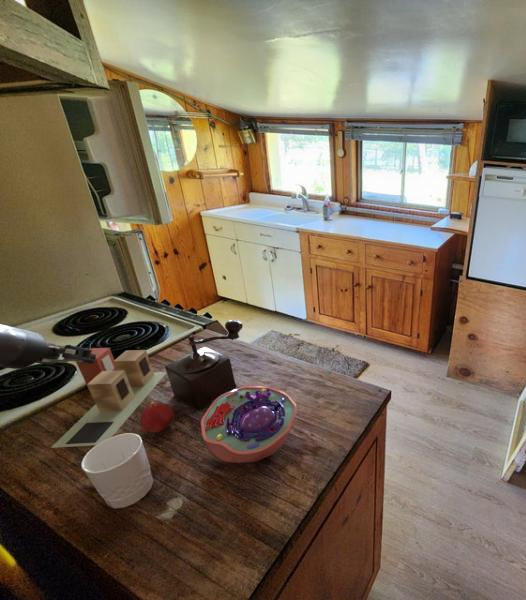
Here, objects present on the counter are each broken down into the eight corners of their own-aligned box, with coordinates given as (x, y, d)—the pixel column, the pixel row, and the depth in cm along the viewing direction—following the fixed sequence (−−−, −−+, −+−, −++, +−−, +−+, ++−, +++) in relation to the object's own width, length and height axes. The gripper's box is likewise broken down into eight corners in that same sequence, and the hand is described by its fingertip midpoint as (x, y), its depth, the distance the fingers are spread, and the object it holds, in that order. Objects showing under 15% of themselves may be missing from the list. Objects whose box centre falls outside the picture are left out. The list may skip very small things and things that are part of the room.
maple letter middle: (99, 412, 74) (86, 384, 71) (113, 397, 79) (102, 370, 75) (122, 411, 75) (111, 383, 72) (135, 396, 79) (125, 370, 76)
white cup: (98, 521, 54) (75, 481, 50) (106, 483, 60) (86, 444, 56) (156, 497, 58) (139, 459, 53) (158, 464, 64) (143, 426, 59)
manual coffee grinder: (200, 413, 76) (181, 349, 68) (172, 396, 80) (152, 334, 73) (255, 377, 88) (245, 319, 81) (229, 364, 93) (216, 308, 85)
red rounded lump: (138, 437, 69) (126, 409, 66) (162, 418, 74) (152, 390, 71) (161, 443, 68) (150, 415, 65) (183, 423, 73) (174, 395, 70)
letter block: (86, 384, 83) (74, 359, 80) (100, 373, 87) (89, 348, 84) (107, 384, 83) (96, 358, 80) (120, 372, 88) (110, 347, 84)
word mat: (51, 449, 66) (50, 447, 66) (127, 374, 87) (127, 372, 87) (105, 446, 67) (104, 444, 67) (167, 373, 88) (167, 371, 88)
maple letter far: (123, 387, 82) (113, 361, 79) (135, 375, 86) (125, 350, 83) (144, 386, 83) (135, 360, 79) (155, 374, 87) (146, 349, 84)
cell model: (267, 400, 81) (261, 363, 76) (316, 445, 69) (312, 405, 64) (193, 441, 69) (180, 400, 64) (236, 503, 57) (225, 459, 53)
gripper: (50, 326, 63) (110, 343, 79) (-33, 327, 62) (45, 345, 77) (37, 364, 61) (102, 375, 76) (-50, 367, 59) (34, 377, 74)
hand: (73, 359), depth 77 cm, fingers open, 8 cm apart
